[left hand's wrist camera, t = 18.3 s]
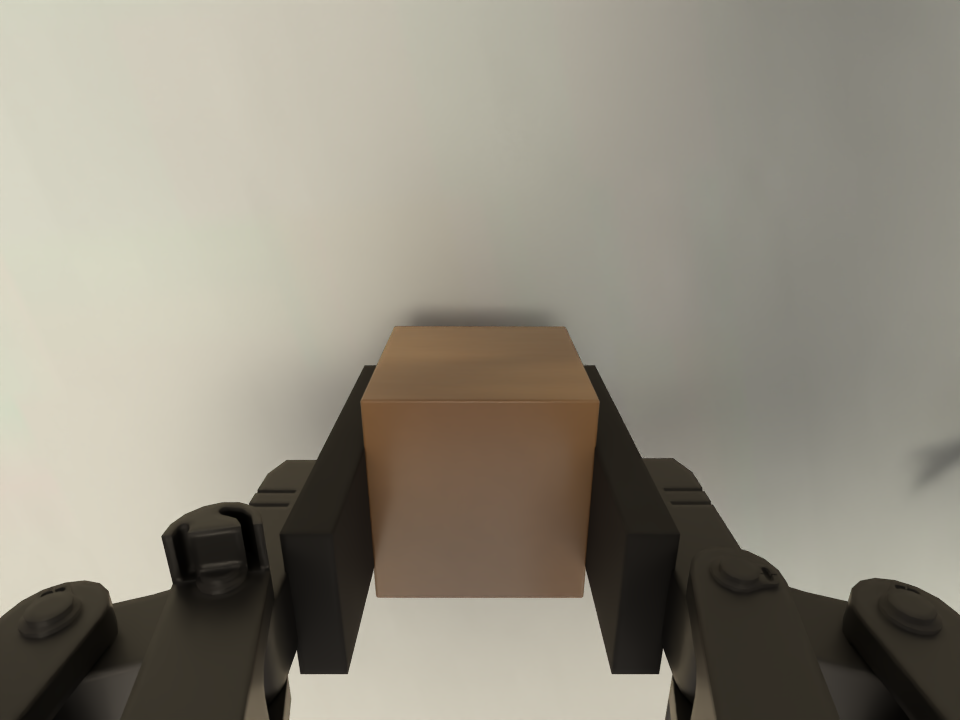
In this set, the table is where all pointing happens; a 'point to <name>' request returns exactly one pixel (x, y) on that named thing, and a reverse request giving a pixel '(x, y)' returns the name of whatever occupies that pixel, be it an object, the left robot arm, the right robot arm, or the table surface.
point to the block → (479, 463)
